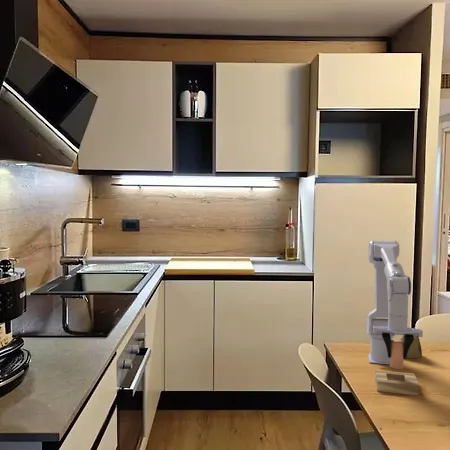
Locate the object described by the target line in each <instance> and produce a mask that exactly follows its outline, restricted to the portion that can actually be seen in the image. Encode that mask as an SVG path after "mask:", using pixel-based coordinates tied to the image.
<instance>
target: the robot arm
mask: <svg viewBox="0 0 450 450" xmlns="http://www.w3.org/2000/svg"><path fill="white" fill-rule="evenodd" d="M400 251H401V250H400V244H399V241H398V240H373V239H371V240H370V241H369V242H368V260H369V261H368V263H370V264H372V265H373V268H374V309H372V310H371V311H369V312H368V313H367V316H366V332H367V335H368V336H370V352H369V353H368V361H369V363H370V364H377V365H378V364H380V365H390V357H391V353H390V343H391V340H394V337H395V336H396V335H397V336H403V335H404V360H407V353H408V350H409V348H410V346H411V344H412V342H413V341H414V336H419V338H423V336H424V335H423V334H424V331H423V329H422V328H419V329H418V328H414V327H413V328H412V327H408V324H409V323H408V318H409V296H410V295H411V293H412V281H411V277H410V276H408V274H406V273H405V271H404V268H403V265H401V263H400V262H398V261H397V260H398V257H400V256H399V255H400Z"/></svg>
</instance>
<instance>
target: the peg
mask: <svg viewBox="0 0 450 450" xmlns="http://www.w3.org/2000/svg"><path fill="white" fill-rule="evenodd" d="M390 353H391V357H390V364H389V367H391V368H392V369H397V370H398V369H399V370H400V369H404V361H405V359H404V341H402V340H401V339H392V340H391V343H390Z"/></svg>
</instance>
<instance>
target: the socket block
mask: <svg viewBox="0 0 450 450" xmlns="http://www.w3.org/2000/svg"><path fill="white" fill-rule="evenodd" d="M374 381H375V387H376V392H382V393H393V394H402V395H414V396H420V395H419V392H420V391H419V390H420V385H419V382H418V380H417V377H416V375H415V373H412V372H411V373H410V372H401V371H400V372H399V371H390V370H388V371H387V370H380V369H379V370H378V369H375V371H374Z"/></svg>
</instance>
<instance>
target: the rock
mask: <svg viewBox="0 0 450 450" xmlns="http://www.w3.org/2000/svg"><path fill="white" fill-rule="evenodd" d="M400 340H402V341H404V335H402V337H401V338H400ZM422 351H423V350H422V345H421V340H420V337H419V336H414V341H413V342H412V344H411V346H410V348H409V350H408V353H407V357H406V359H407V358H408V359H420V358H422V357H423V353H422Z"/></svg>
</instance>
